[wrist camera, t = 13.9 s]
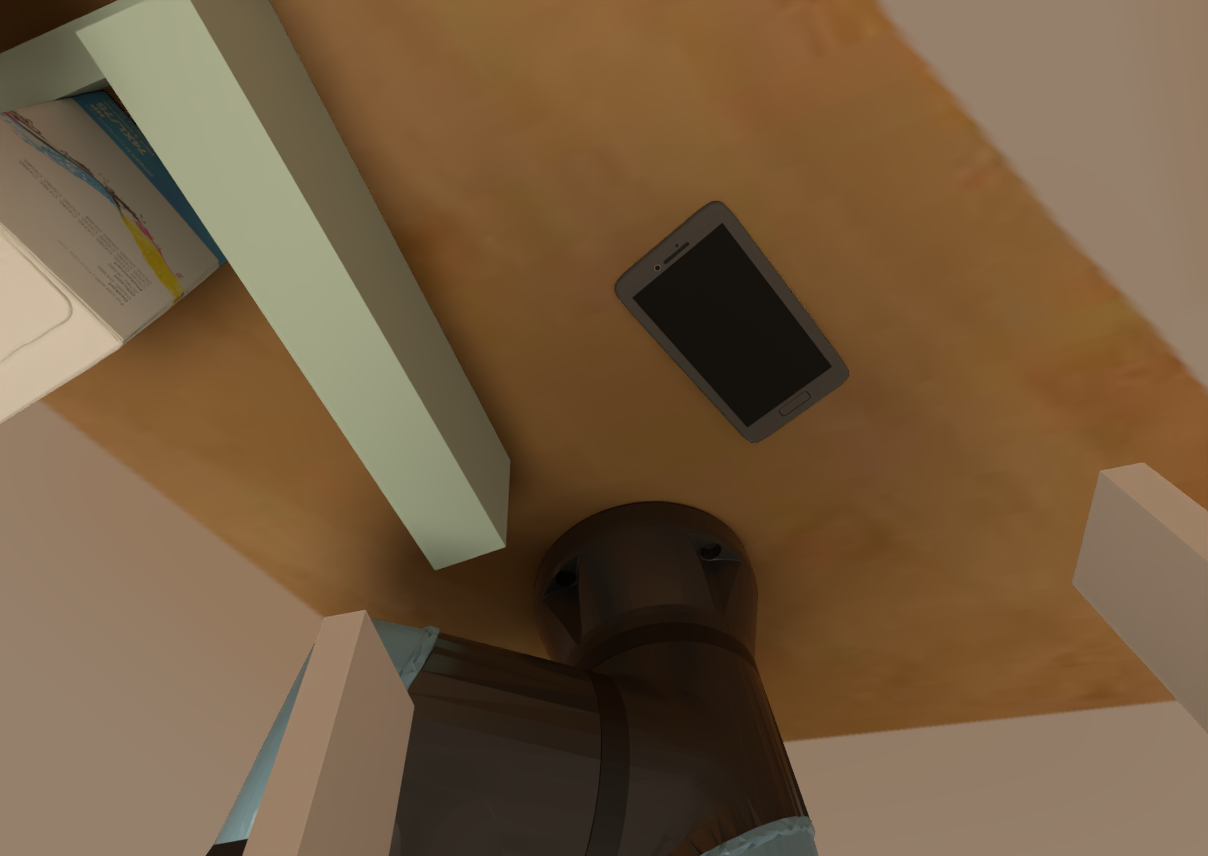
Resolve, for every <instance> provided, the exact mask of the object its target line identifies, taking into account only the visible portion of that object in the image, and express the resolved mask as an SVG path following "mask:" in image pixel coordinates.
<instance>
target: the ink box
mask: <svg viewBox="0 0 1208 856" xmlns="http://www.w3.org/2000/svg"><path fill="white" fill-rule="evenodd" d="M226 261H228V260H227V259H226V257H225V256H224V254H223V253H222V251H221V250H220V248H219V247H218V245H217V244H216V242H215V241H214V239H213V238H212V236H211V235H210V233H209V232H208V230H207V229H206V227H205V226H204V224H203V223H202V221H201V220H200V218H199V217H198V215H197V214H196V212H195V211H194V209H193V208H192V206H191V205H190V203H189V202H188V200H187V199H186V197H185V196H184V194H183V193H182V191H181V190H180V188H179V187H178V185H177V184H176V182H175V181H174V179H173V178H172V176H171V175H170V173H169V172H168V170H167V169H166V167H165V166H164V164H163V163H162V161H161V160H160V158H159V157H158V155H157V154H156V152H155V151H154V149H153V148H152V146H151V145H150V143H149V142H148V140H147V139H146V137H145V136H144V134H143V133H142V132H141V130H140V129H139V128H138V127H137V126H136V125H135V124H134V123H133V122H132V121H131V119H130V118H129V117H128V116H127V115H126V114H125V113H124V112H123V111H122V110H121V109H120V107H119V106H118V105H117V104H116V103H115V102H114V101H113V100H112V99H111V98H110V96H109V95H108V94H107V93H106V92H104V91H97V92H93V93H88V94H83V95H78V96H74V97H70V98H65V99H60V100H56V101H51V102H47V103H42V104H38V105H34V106H30V107H25V108H20V109H16V110H11V111H8V112H3V113H0V424H1V423H3V422H4V421H6V420H7V419H9V418H11V417H12V416H14V415H16V414H17V413H19V412H20V411H22V410H24V409H25V408H27V407H28V406H30V405H32V404H33V403H35V402H36V401H38V400H40V399H41V398H43V397H44V396H46V395H48V394H49V393H51V392H52V391H54V390H56V389H57V388H59V387H61V386H62V385H64V384H65V383H67V382H69V381H70V380H72V379H73V378H75V377H77V376H78V375H80V374H81V373H83V372H85V371H86V370H88V369H90V368H91V367H93V366H94V365H96V364H97V363H99V362H100V361H101V360H103V359H104V358H106V357H107V356H109V355H110V354H112V353H114V352H115V351H117V350H118V349H120V348H121V347H122V346H123V345H124V344H126V343H127V342H128V341H129V340H131V339H132V338H133V337H134V336H136V335H137V334H138V333H140V332H141V331H142V330H143V329H145V328H146V327H147V326H149V325H150V324H151V323H152V322H154V321H155V320H156V319H158V318H159V317H160V316H161V315H163V314H164V313H165V312H167V311H168V310H169V309H170V308H171V307H173V306H174V305H175V304H176V303H177V302H179V301H180V300H181V299H182V298H184V297H185V296H186V295H187V294H188V293H190V292H191V291H192V290H193V289H194V288H196V287H197V286H198V285H199V284H200V283H201V282H203V281H204V280H205V279H206V278H207V277H209V276H210V275H211V274H212V273H213V272H215V271H216V270H217V269H218V268H219V267H220V266H222V265H223V264H224V263H225V262H226Z"/></svg>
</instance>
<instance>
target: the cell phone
mask: <svg viewBox="0 0 1208 856" xmlns="http://www.w3.org/2000/svg"><path fill="white" fill-rule="evenodd" d="M615 292H616V295H617V297H618V298H619V299H620V300H621V302H622V303H623V304H624V305H625V306H626V308H627V309H628V310H629V311H630V312H631V314H632V315H633V316H634V317H635V318H636V319H637V320H638V321H639V322H640V324H641V325H642V326H643V327H644V328H645V329H646V330H647V331H648V332H649V333H650V335H651V336H652V337H653V338H654V339H655V340H656V341H657V342H658V343H659V344H660V346H661V347H662V348H663V349H664V350H665V351H666V352H667V353H668V354H669V356H670V357H671V358H672V359H673V360H674V361H675V362H676V363H677V364H678V365H679V367H680V368H681V369H682V370H683V371H684V372H685V373H686V374H687V375H688V376H689V378H690V379H691V380H692V381H693V382H694V383H695V384H696V385H697V386H698V387H699V389H700V390H701V391H702V392H703V393H704V394H705V395H706V396H707V397H708V399H709V400H710V401H711V402H712V403H713V404H714V405H715V406H716V407H717V408H718V410H719V411H720V412H721V413H722V414H723V415H724V416H725V417H726V418H727V419H728V421H729V422H730V423H731V424H732V425H733V426H734V427H735V428H736V429H737V431H738V432H739V433H740V434H741V435H742V436H743V437H745V438H746V439H747V440H748V441H749V442H751V443H755V442H759V441H761V440H763V439H764V438H766V437H768V436H770V435H771V434H772V433H774V432H775V431H777V430H778V429H779V428H781V427H782V426H784V425H785V424H786V423H788V422H789V421H791V420H792V419H794V418H795V417H796V416H798V415H799V414H801V413H802V412H803V411H805V410H806V409H808V408H809V407H810V406H812V405H813V404H815V403H816V402H818V401H819V400H820V399H822V398H823V397H825V396H826V395H827V394H829V393H830V392H832V391H833V390H834V389H836V388H837V387H839V386H840V385H841V384H842V383H843V382H844V381H845V380H846V379H847V378H848V376H849V370H848V369H847V367H846V365H845V364H844V362H843V360H842V359H841V358H840V356H839V355H838V354H837V352H836V351H835V349H834V348H833V347H832V345H831V344H830V343H829V341H828V340H827V339H826V337H825V336H824V335H823V333H822V332H821V331H820V329H819V328H818V327H817V325H816V324H815V323H814V321H813V320H812V319H811V317H810V316H809V315H808V313H807V312H806V311H805V309H804V308H803V307H802V305H801V304H800V303H799V301H798V300H797V299H796V297H795V296H794V295H793V293H792V292H791V291H790V289H789V288H788V287H787V285H786V284H785V283H784V281H783V280H782V279H781V277H780V276H779V275H778V273H777V272H776V270H775V269H774V268H773V266H772V265H771V264H770V262H769V261H768V260H767V258H766V257H765V256H764V254H763V253H762V252H761V250H760V249H759V248H758V246H757V245H756V244H755V242H754V241H753V240H752V238H751V237H750V236H749V234H748V233H747V232H746V230H745V229H744V228H743V226H742V225H741V224H740V222H739V221H738V220H737V218H736V217H735V216H734V215H733V213H732V212H731V211H730V210H729V209H728V208H727V207H726V206H725V205H724V204H723V203H722V202H719V201H712V202H710V203H708V204H707V205H705V206H703V207H702V208H701V209H699V210H698V211H697V212H696V213H694V214H693V215H692V216H691V217H690V218H688V219H687V220H686V221H685V222H684V223H683V224H681V225H680V226H679V227H678V228H677V229H675V230H674V231H673V232H672V233H671V234H670V235H668V236H667V237H666V238H665V239H664V240H662V241H661V242H660V243H659V244H658V245H657V246H655V247H654V248H653V249H652V250H651V251H649V252H648V253H647V254H646V255H645V256H644V257H642V258H641V259H640V260H639V261H638V262H637V263H635V264H634V265H633V266H632V267H631V268H629V269H628V270H627V271H626V272H625V273H624V274H623V275H622V276H621V277H620V278H619V279H618V280H617V282H616V284H615Z"/></svg>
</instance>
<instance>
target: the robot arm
mask: <svg viewBox="0 0 1208 856" xmlns="http://www.w3.org/2000/svg"><path fill="white" fill-rule="evenodd" d="M1072 585H1073V586H1074V587H1075V588H1076V589H1077V590H1078V591H1079V592H1080V594H1081V595H1082V596H1083V597H1084V598H1085V599H1086V600H1087V601H1088V602H1089V603H1090V605H1091V606H1092V607H1093V608H1094V609H1095V610H1096V611H1097V612H1098V613H1099V614H1100V616H1101V617H1102V618H1103V619H1104V620H1105V621H1106V622H1107V623H1108V624H1109V625H1110V627H1111V628H1112V629H1113V630H1114V631H1115V632H1116V633H1117V634H1118V635H1119V636H1120V637H1121V639H1122V640H1123V641H1124V642H1125V643H1126V644H1127V645H1128V646H1129V647H1130V648H1131V650H1132V651H1133V652H1134V653H1135V654H1136V655H1137V656H1138V657H1139V658H1140V659H1141V661H1142V662H1143V663H1144V664H1145V665H1146V666H1147V667H1148V668H1149V669H1150V670H1151V672H1152V673H1153V674H1154V675H1155V676H1156V677H1157V678H1158V679H1159V680H1160V681H1161V682H1162V684H1163V685H1164V686H1165V687H1166V688H1167V689H1168V690H1169V691H1170V692H1171V693H1172V695H1173V696H1174V697H1175V698H1176V699H1177V700H1178V701H1179V702H1180V703H1181V704H1182V705H1183V706H1184V708H1185V709H1186V710H1187V711H1188V712H1189V713H1190V714H1191V715H1192V717H1193V718H1194V719H1195V720H1196V721H1197V722H1198V723H1199V724H1200V725H1201V726H1202V727H1203V728H1204V730H1205V731H1206V732H1207V733H1208V511H1206V510H1205V509H1204V508H1203V507H1201V506H1200V505H1199V504H1197V503H1196V502H1195V501H1193V500H1192V499H1191V498H1189V497H1188V496H1187V495H1186V494H1184V493H1183V492H1182V491H1180V490H1179V489H1178V488H1176V487H1175V486H1174V485H1173V484H1171V483H1170V482H1169V481H1167V480H1166V479H1165V478H1163V477H1162V476H1161V475H1159V474H1158V473H1157V472H1156V471H1154V470H1153V469H1152V468H1150V467H1149V466H1148V465H1146V464H1145V463H1138V464H1133V465H1128V466H1122V467H1117V468H1112V469H1107V470H1101V471H1100V472H1099V476H1098V480H1097V484H1096V488H1095V492H1094V496H1093V500H1092V504H1091V509H1090V513H1089V517H1088V521H1087V525H1086V529H1085V533H1084V537H1083V541H1082V545H1081V549H1080V553H1079V557H1078V561H1077V565H1076V569H1075V573H1074V577H1073V581H1072ZM757 601H758V591H757V584H756V579H755V575H754V572H753V570H752V567H751V564H750V561H749V559H748V556H747V553H746V551H745V549H744V547H743V545H742V543H741V542H740V540H739V539H738V537H737V536H736V535H735V534H734V533H733V532H732V531H731V530H730V529H729V528H728V527H727V526H726V525H725V524H723V523H722V522H721V521H719V520H717V519H716V518H714V517H712V516H711V515H709V514H706V513H704V512H702V511H699V510H697V509H694V508H690V507H687V506H682V505H677V504H670V503H639V504H631V505H626V506H621V507H617V508H613V509H610V510H607V511H604V512H601V513H599V514H597V515H594V516H592V517H590V518H588V519H586V520H584V521H583V522H581V523H579V524H578V525H576V526H575V527H573V528H572V529H570V530H569V531H568V532H567V533H565V534H564V535H563V536H562V537H561V538H560V539H559V540H558V541H557V542H556V543H555V544H554V545H553V547H552V548H551V549H550V550H549V552H548V553H547V555H546V556H545V558H544V560H543V562H542V564H541V566H540V568H539V571H538V574H537V578H536V584H535V617H536V623H537V628H538V631H539V634H540V637H541V639H542V642H543V644H544V646H545V648H546V651H547V653H548V655H549V658H550V660H551V661H550V660H547V659H543V658H539V657H535V656H531V655H527V654H523V653H519V652H515V651H511V650H507V649H503V648H499V647H495V646H491V645H487V644H483V643H479V642H475V641H471V640H467V639H463V638H459V637H455V636H451V635H447V634H443V633H439V628H437V627H433V626H427V627H424V628H418V627H412V626H407V625H402V624H397V623H392V622H387V621H382V620H377V619H371V618H370V617H369V615H368V613H367V611H366V610H361V611H356V612H351V613H345V614H340V615H335V616H330V617H324V619H323V622H322V625H321V628H320V631H319V634H318V636H317V639H316V642H315V644H314V645H313V647H312V649H311V651H310V653H309V655H308V657H307V658H306V660H305V663H304V664H303V666H302V668H301V670H300V672H299V674H298V676H297V678H296V680H295V682H294V684H293V686H292V688H291V690H290V692H289V694H288V696H287V698H286V700H285V702H284V704H283V706H282V708H281V710H280V712H279V714H278V716H277V718H276V720H275V722H274V724H273V726H272V728H271V730H270V732H269V734H268V736H267V738H266V740H265V742H264V744H263V746H262V748H261V750H260V752H259V754H258V756H257V758H256V760H255V762H254V764H253V766H252V768H251V770H250V772H249V774H248V776H247V778H246V780H245V782H244V784H243V786H242V788H241V790H240V792H239V794H238V796H237V799H236V801H235V803H234V805H233V807H232V809H231V810H230V812H229V814H228V817H227V819H226V821H225V822H224V824H223V826H222V828H221V830H220V833H219V834H218V837H217V838H216V840H215V842H214V844H213V846H212V848H211V849H210V850H209V852H208V853H207V855H206V856H818V853H817V849H816V845H815V841H814V836H815V830H814V826H813V825H812V821H810V818H809V815H808V812H807V809H806V807H805V804H804V801H803V798H802V795H801V792H800V789H799V787H798V784H797V781H796V778H795V775H794V772H793V770H792V767H791V764H790V761H789V758H788V756H787V752H786V750H785V747H784V744H783V741H782V738H781V735H780V732H779V730H778V727H777V724H776V721H775V718H774V715H773V712H772V710H771V707H770V704H769V701H768V698H767V695H766V692H765V690H764V687H763V684H762V681H761V678H760V675H759V672H758V669H757V666H756V663H755V660H754V652H755V635H756V618H757Z"/></svg>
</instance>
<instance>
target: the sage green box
mask: <svg viewBox="0 0 1208 856" xmlns="http://www.w3.org/2000/svg"><path fill="white" fill-rule="evenodd" d="M108 86H112V88H113V89H114V91H115V92H116V94H117V95H118V97H119V98H120V100H121V101H122V103H123V104H124V106H125V107H126V109H127V110H128V112H129V113H130V115H131V116H132V118H133V119H134V121H135V122H136V124H137V125H138V127H139V128H140V130H141V131H142V133H143V134H144V136H145V137H146V139H147V140H148V142H149V143H150V145H151V146H152V148H153V149H154V151H155V152H156V154H157V155H158V157H159V158H160V160H161V161H162V163H163V164H164V166H165V167H166V169H167V170H168V172H169V173H170V175H171V176H172V178H173V179H174V181H175V182H176V184H177V185H178V187H179V188H180V190H181V191H182V193H183V194H184V196H185V197H186V199H187V200H188V202H189V203H190V205H191V206H192V208H193V209H194V211H195V212H196V214H197V215H198V217H199V218H200V220H201V221H202V223H203V224H204V226H205V227H206V229H207V230H208V232H209V233H210V235H211V236H212V238H213V239H214V241H215V242H216V244H217V245H218V247H219V248H220V250H221V251H222V253H223V254H224V256H225V257H226V259H227V260H228V262H229V263H230V265H231V266H232V268H233V269H234V271H235V272H236V274H237V275H238V277H239V278H240V280H241V281H242V283H243V284H244V286H245V287H246V289H247V290H248V292H249V293H250V295H251V296H252V297H253V299H254V300H255V302H256V303H257V305H258V306H259V308H260V309H261V311H262V312H263V314H264V315H265V317H266V318H267V320H268V321H269V323H270V324H271V326H272V327H273V329H274V330H275V332H276V333H277V335H278V336H279V338H280V339H281V341H282V342H283V344H284V345H285V347H286V348H287V350H288V351H289V353H290V354H291V356H292V357H293V359H294V360H295V362H296V363H297V365H298V366H299V368H300V369H301V371H302V372H303V374H304V375H305V377H306V378H307V380H308V381H309V383H310V384H311V386H312V387H313V389H314V390H315V392H316V393H317V395H318V396H319V398H320V399H321V401H322V402H323V404H324V405H325V407H326V408H327V410H328V411H329V413H330V414H331V416H332V417H333V419H334V420H335V422H336V423H337V425H338V426H339V428H340V429H341V431H342V432H343V434H344V435H345V437H346V438H347V440H348V441H349V443H350V444H351V446H352V447H353V449H354V450H355V452H356V453H357V455H358V456H359V458H360V459H361V461H362V462H363V464H364V465H365V467H366V468H367V470H368V471H369V473H370V474H371V476H372V477H373V479H374V480H375V482H376V483H377V485H378V486H379V488H380V489H381V491H382V492H383V494H384V495H385V497H386V498H387V500H388V501H389V503H390V504H391V506H392V507H393V509H394V510H395V512H396V513H397V515H398V516H399V518H400V519H401V521H402V522H403V523H404V525H405V526H406V528H407V529H408V531H409V532H410V534H411V535H412V537H413V538H414V540H415V541H416V543H417V544H418V546H419V547H420V549H421V550H422V552H423V553H424V555H425V556H426V558H427V559H428V561H429V562H430V564H431V565H432V567H433V568H434V570H438V569H441V568H444V567H447V566H450V565H453V564H456V563H459V562H462V561H465V560H468V559H471V558H474V557H477V556H480V555H483V554H486V553H489V552H492V551H495V550H498V549H501V548H504V547H506V536H507V517H508V499H509V480H510V462H511V460H510V459H509V457H508V455H507V453H506V451H505V449H504V447H503V445H502V443H501V441H500V440H499V438H498V436H497V434H496V432H495V430H494V428H493V426H492V424H491V422H490V420H489V419H488V417H487V415H486V413H485V411H484V409H483V407H482V405H481V403H480V401H479V400H478V398H477V396H476V394H475V392H474V390H473V388H472V386H471V384H470V382H469V380H468V379H467V377H466V375H465V373H464V371H463V369H462V367H461V365H460V363H459V361H458V360H457V358H456V356H455V354H454V352H453V350H452V348H451V346H450V344H449V342H448V340H447V339H446V337H445V335H444V333H443V331H442V329H441V327H440V325H439V323H438V321H437V319H436V318H435V316H434V314H433V312H432V310H431V308H430V306H429V304H428V302H427V300H426V299H425V297H424V295H423V293H422V291H421V289H420V287H419V285H418V283H417V281H416V279H415V278H414V276H413V274H412V272H411V270H410V268H409V266H408V264H407V262H406V260H405V259H404V257H403V255H402V253H401V251H400V249H399V247H398V245H397V243H396V241H395V239H394V238H393V236H392V234H391V232H390V230H389V228H388V226H387V224H386V222H385V220H384V219H383V217H382V215H381V213H380V211H379V209H378V207H377V205H376V203H375V201H374V199H373V198H372V196H371V194H370V192H369V190H368V188H367V186H366V184H365V182H364V180H363V179H362V177H361V175H360V173H359V171H358V169H357V167H356V165H355V163H354V161H353V159H352V158H351V156H350V154H349V152H348V150H347V148H346V146H345V144H344V142H343V140H342V138H341V137H340V135H339V133H338V131H337V129H336V127H335V125H334V123H333V121H332V119H331V118H330V116H329V114H328V112H327V110H326V108H325V106H324V104H323V102H322V100H321V98H320V97H319V95H318V93H317V91H316V89H315V87H314V85H313V83H312V81H311V79H310V78H309V76H308V74H307V72H306V70H305V68H304V66H303V64H302V62H301V60H300V58H299V57H298V55H297V53H296V51H295V49H294V47H293V45H292V43H291V41H290V39H289V38H288V36H287V34H286V32H285V30H284V28H283V26H282V24H281V22H280V20H279V18H278V17H277V15H276V13H275V11H274V9H273V7H272V5H271V3H270V1H269V0H117V1H115V2H113V3H111V4H108V5H106V6H104V7H102V8H100V9H97V10H95V11H93V12H91V13H89V14H86V15H84V16H82V17H80V18H78V19H75V20H73V21H71V22H69V23H67V24H64V25H62V26H60V27H58V28H55V29H53V30H51V31H49V32H47V33H44V34H42V35H40V36H38V37H36V38H33V39H31V40H29V41H27V42H25V43H22V44H20V45H18V46H16V47H14V48H11V49H9V50H7V51H5V52H3V53H0V113H3V112H8V111H11V110H16V109H20V108H25V107H30V106H34V105H38V104H42V103H47V102H51V101H56V100H60V99H65V98H70V97H74V96H78V95H83V94H88V93H93V92H97V91H99V90H101V89H104V88H106V87H108Z"/></svg>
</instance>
